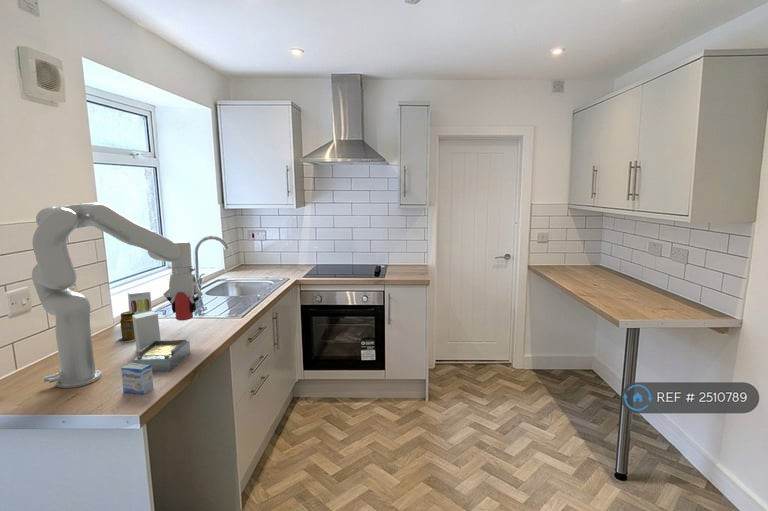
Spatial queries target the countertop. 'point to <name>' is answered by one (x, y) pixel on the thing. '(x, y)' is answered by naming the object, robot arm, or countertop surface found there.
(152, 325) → the skincare box
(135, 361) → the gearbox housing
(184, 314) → the beer can
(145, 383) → the medicine box
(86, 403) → the countertop surface
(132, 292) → the supplement box
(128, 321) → the condiment
